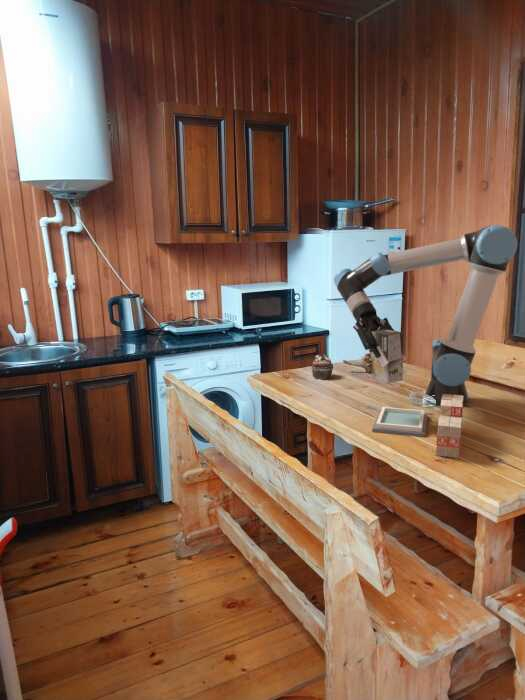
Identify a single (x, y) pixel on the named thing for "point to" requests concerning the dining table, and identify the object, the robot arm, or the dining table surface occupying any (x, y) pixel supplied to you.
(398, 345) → the coffee box
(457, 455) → the stack of blocks
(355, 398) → the dining table surface
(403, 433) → the holder board
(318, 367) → the cupcake
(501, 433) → the dining table surface
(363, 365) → the pine cone
